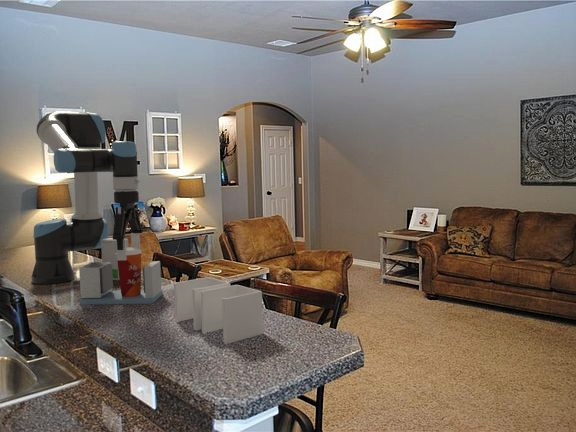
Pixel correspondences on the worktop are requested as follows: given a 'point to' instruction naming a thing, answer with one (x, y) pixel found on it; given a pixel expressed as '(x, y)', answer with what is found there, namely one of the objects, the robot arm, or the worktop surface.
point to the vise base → (147, 295)
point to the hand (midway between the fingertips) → (129, 256)
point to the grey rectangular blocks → (219, 307)
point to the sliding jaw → (96, 279)
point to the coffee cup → (130, 272)
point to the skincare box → (111, 255)
